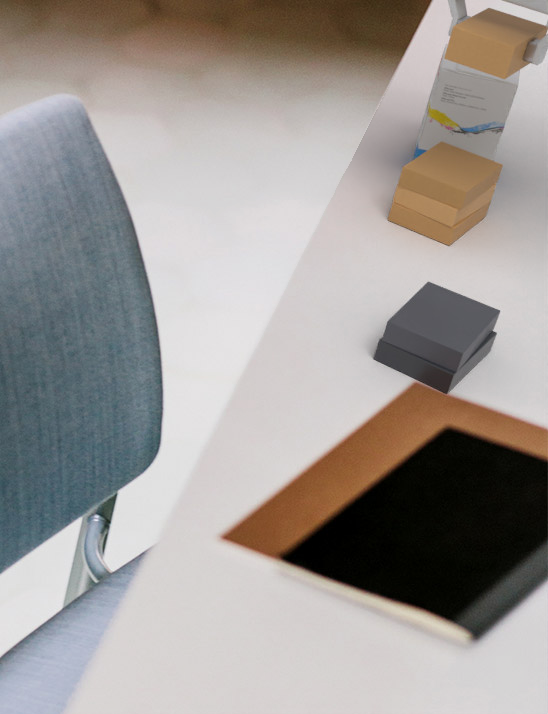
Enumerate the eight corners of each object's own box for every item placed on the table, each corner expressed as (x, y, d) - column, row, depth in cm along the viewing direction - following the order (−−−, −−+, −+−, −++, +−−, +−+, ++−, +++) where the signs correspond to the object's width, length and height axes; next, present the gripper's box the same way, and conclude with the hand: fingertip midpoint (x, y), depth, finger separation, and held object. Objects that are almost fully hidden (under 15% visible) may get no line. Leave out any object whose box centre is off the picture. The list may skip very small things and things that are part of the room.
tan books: (486, 217, 125) (504, 164, 121) (449, 247, 119) (467, 192, 115) (424, 192, 128) (440, 140, 124) (385, 220, 122) (400, 166, 118)
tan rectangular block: (538, 58, 111) (549, 26, 109) (504, 79, 106) (515, 46, 104) (479, 38, 114) (488, 7, 112) (443, 58, 109) (453, 26, 107)
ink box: (486, 186, 131) (521, 83, 124) (409, 169, 132) (439, 67, 125) (489, 155, 137) (522, 56, 130) (416, 139, 139) (445, 40, 131)
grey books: (491, 350, 105) (505, 312, 102) (447, 394, 99) (461, 355, 97) (417, 317, 108) (430, 279, 106) (370, 357, 102) (382, 318, 100)
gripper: (677, -86, 98) (614, 76, 107) (452, -145, 107) (411, 9, 116) (654, -73, 94) (590, 94, 103) (422, -136, 103) (381, 23, 112)
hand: (494, 48), depth 109 cm, fingers closed on tan rectangular block, 6 cm apart
